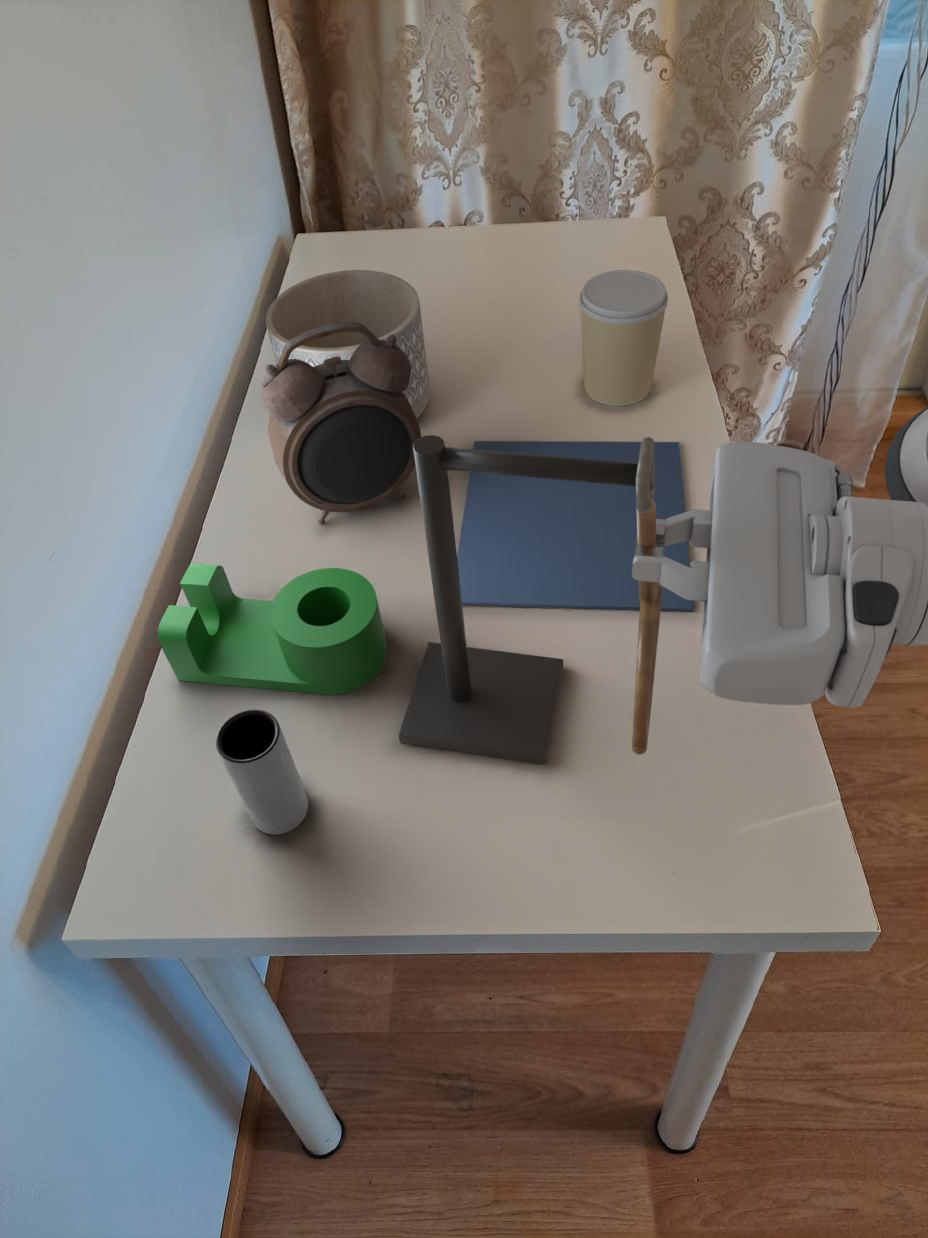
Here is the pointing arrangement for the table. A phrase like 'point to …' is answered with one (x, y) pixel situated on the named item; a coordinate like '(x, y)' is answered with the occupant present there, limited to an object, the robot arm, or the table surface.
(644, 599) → the hanger
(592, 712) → the table surface
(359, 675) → the green bracket
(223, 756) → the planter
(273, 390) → the alarm clock
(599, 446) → the mat
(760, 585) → the robot arm
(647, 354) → the coffee cup
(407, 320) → the planter
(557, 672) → the rail
